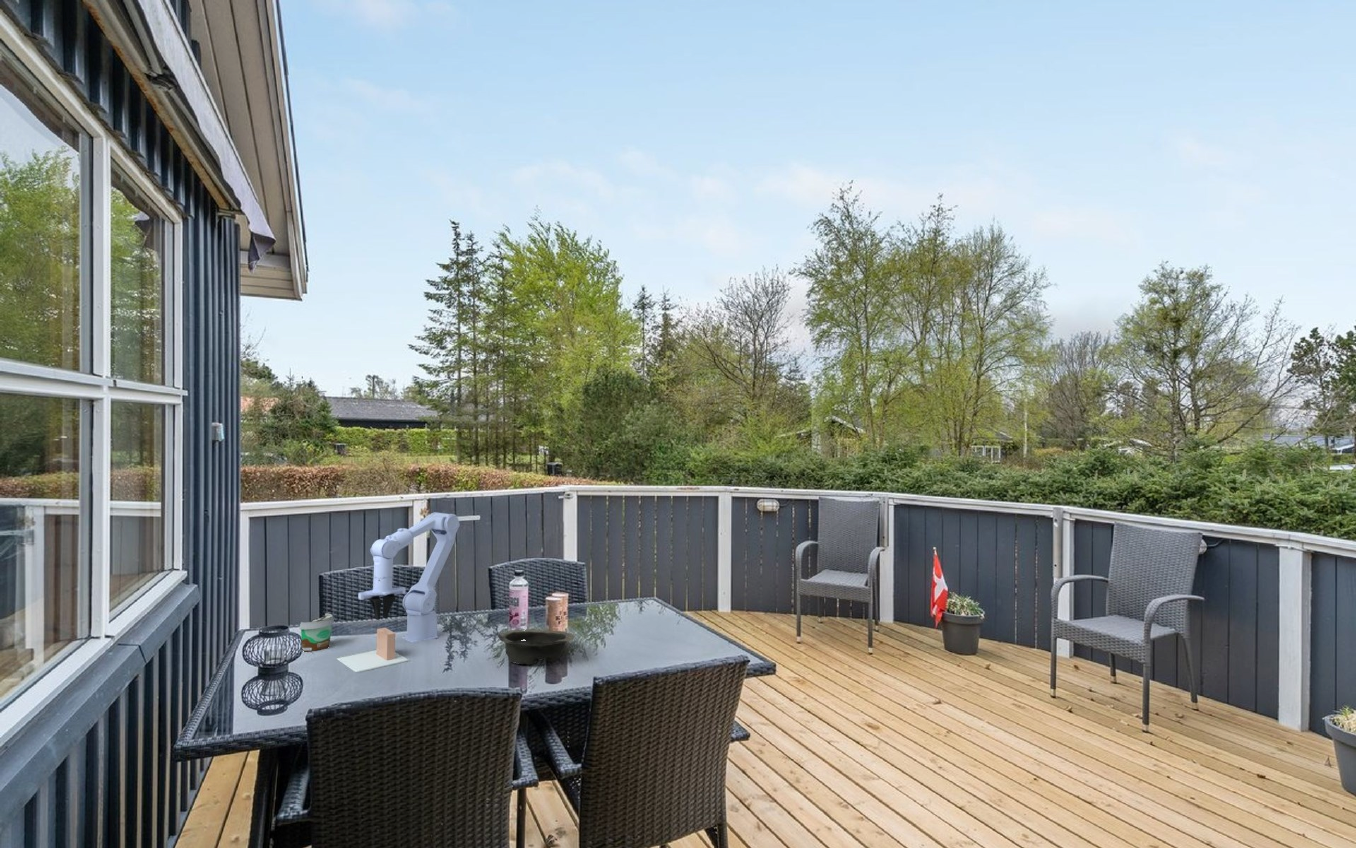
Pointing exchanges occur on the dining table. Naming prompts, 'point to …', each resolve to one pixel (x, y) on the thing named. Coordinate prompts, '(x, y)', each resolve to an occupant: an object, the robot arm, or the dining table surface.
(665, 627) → the dining table surface
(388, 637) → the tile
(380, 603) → the robot arm
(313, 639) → the food container
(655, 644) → the dining table surface
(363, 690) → the dining table surface
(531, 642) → the stone bowl
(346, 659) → the mat
